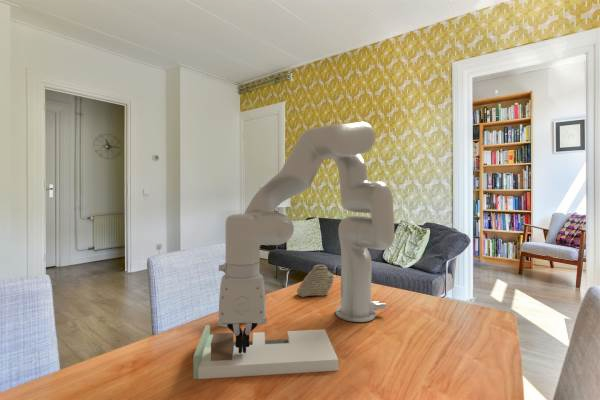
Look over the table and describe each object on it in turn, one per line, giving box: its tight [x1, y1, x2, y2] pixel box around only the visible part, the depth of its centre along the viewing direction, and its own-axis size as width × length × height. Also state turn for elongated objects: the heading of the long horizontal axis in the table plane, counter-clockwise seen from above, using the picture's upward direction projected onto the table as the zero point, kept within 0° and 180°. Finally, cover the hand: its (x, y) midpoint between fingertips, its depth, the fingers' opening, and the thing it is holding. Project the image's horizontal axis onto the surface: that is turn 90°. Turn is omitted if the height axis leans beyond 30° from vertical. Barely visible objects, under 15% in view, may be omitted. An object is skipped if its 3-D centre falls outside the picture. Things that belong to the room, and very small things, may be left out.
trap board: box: [192, 324, 339, 380], centre depth 76 cm, size 31×15×5 cm, turn 97°
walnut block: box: [211, 332, 235, 361], centre depth 72 cm, size 4×4×4 cm
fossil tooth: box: [296, 264, 335, 298], centre depth 121 cm, size 12×6×15 cm
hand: (242, 349), depth 72 cm, fingers closed
